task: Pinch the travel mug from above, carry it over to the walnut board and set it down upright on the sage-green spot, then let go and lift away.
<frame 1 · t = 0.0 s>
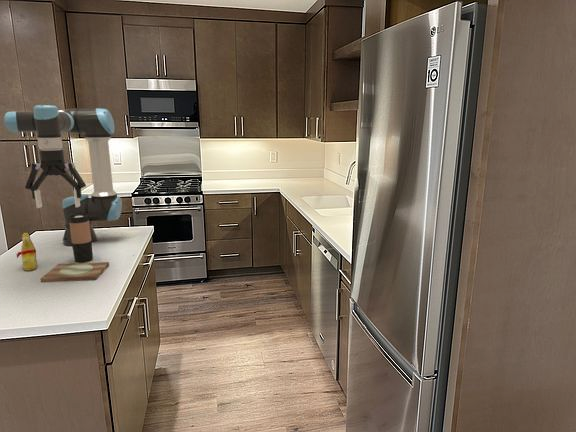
hand: (58, 207, 152), 28 cm above the countertop, tool pointing down, fingers open, 13 cm apart
walnut board: (76, 273, 163), on the countertop
travel mug: (84, 260, 178), on the countertop
chocolate bunny: (28, 268, 169), on the countertop
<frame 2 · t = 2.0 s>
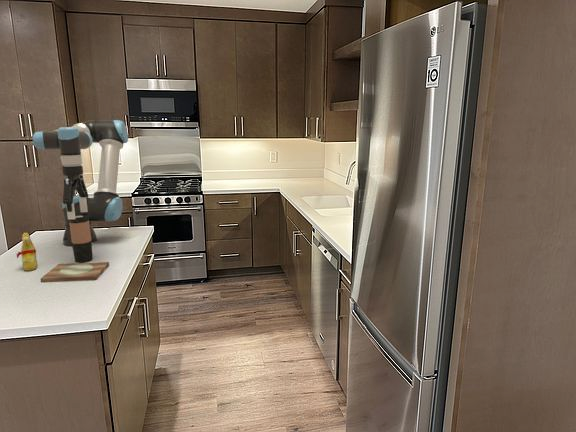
hand: (78, 215, 173), 20 cm above the countertop, tool pointing down, fingers open, 13 cm apart
nothing on the countertop moved.
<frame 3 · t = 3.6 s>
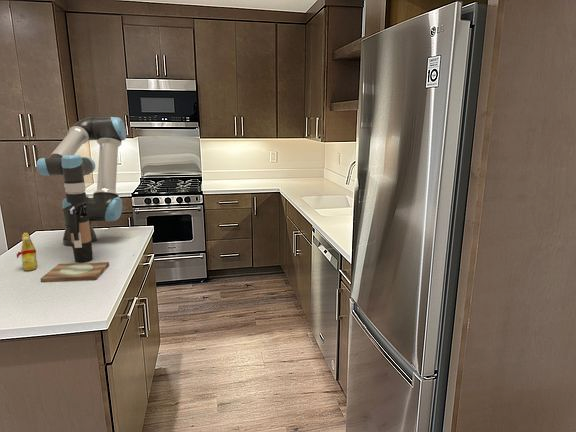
hand: (82, 244, 176), 7 cm above the countertop, tool pointing down, fingers closed on travel mug, 8 cm apart
travel mug: (84, 260, 178), on the countertop, touching gripper
everything else where it was.
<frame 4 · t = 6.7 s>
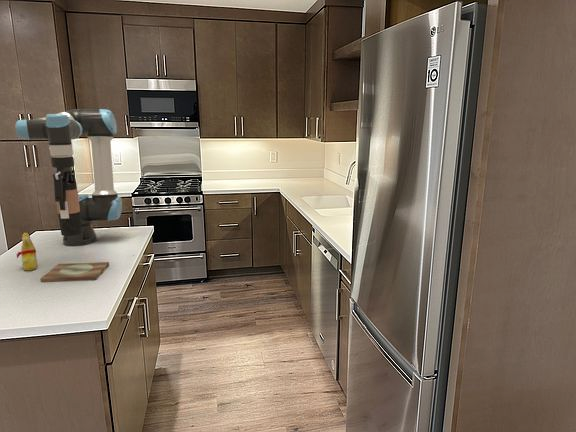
hand: (69, 215, 158), 24 cm above the countertop, tool pointing down, fingers closed on travel mug, 8 cm apart
travel mug: (71, 234, 159), point 16 cm above the countertop, touching gripper
everything else where it was.
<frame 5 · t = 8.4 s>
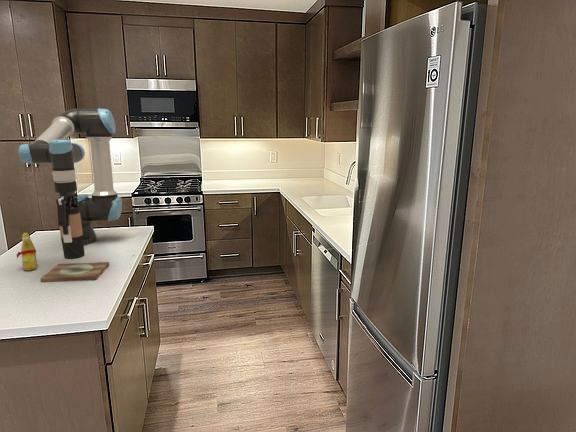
hand: (72, 239, 159), 14 cm above the countertop, tool pointing down, fingers closed on travel mug, 8 cm apart
travel mug: (74, 256, 161), point 7 cm above the countertop, touching gripper
everything else where it was.
when the fingers open (10 cm above the countertop, at t = 9.6 s): travel mug drops 1 cm, resting on walnut board.
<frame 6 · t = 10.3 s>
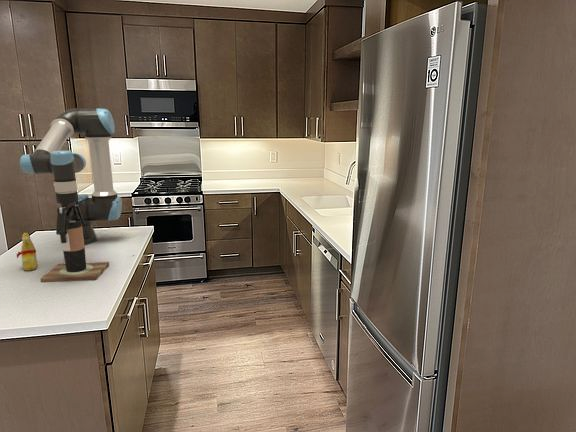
hand: (73, 245, 160), 12 cm above the countertop, tool pointing down, fingers open, 13 cm apart
travel mug: (76, 269, 163), point 2 cm above the countertop, touching walnut board
everything else where it was.
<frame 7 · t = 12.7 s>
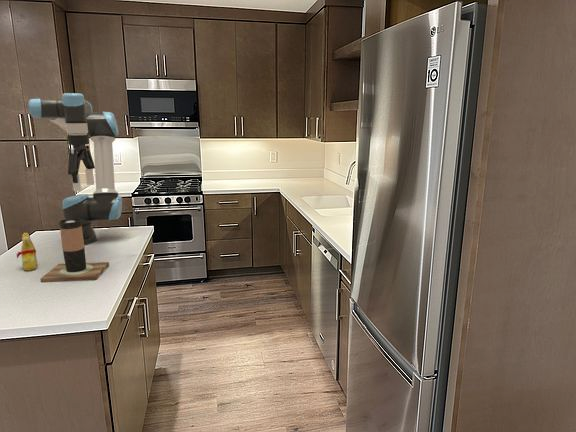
hand: (84, 187, 165), 33 cm above the countertop, tool pointing down, fingers open, 13 cm apart
nothing on the countertop moved.
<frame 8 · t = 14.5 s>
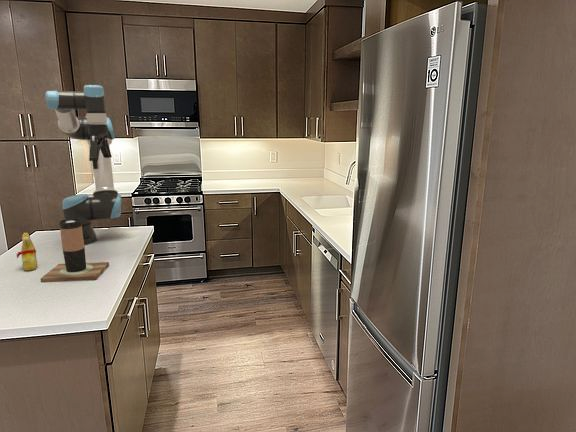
hand: (102, 174, 175), 37 cm above the countertop, tool pointing down, fingers open, 13 cm apart
nothing on the countertop moved.
at the end: travel mug 0.1 cm off-centre on the walnut board, point 1.5 cm above the walnut board's base; travel mug tilted 0°; the gripper is holding nothing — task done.
